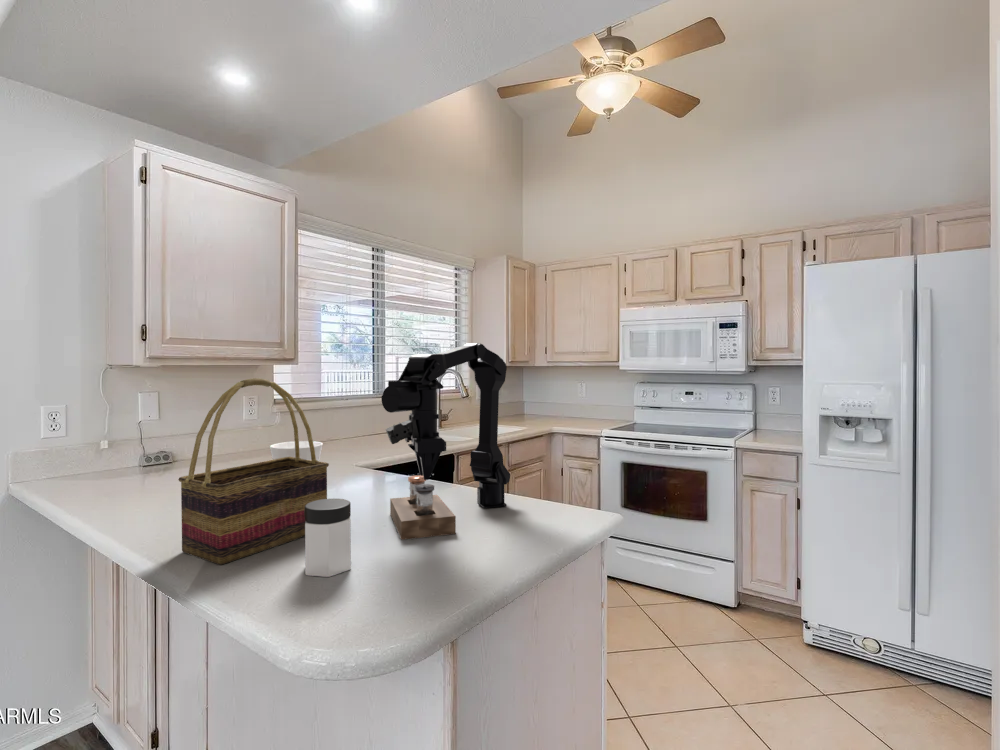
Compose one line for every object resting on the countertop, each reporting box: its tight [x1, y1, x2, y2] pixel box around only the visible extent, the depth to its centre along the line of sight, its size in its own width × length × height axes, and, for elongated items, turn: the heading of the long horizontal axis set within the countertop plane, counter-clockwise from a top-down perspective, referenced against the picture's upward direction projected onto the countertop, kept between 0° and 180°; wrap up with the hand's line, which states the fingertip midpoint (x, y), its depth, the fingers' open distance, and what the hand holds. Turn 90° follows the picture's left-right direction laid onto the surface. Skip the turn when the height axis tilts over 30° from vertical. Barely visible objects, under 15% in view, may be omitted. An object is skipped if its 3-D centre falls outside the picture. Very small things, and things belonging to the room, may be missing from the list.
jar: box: [304, 498, 352, 578], centre depth 94 cm, size 9×8×12 cm
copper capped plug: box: [407, 474, 427, 504], centre depth 125 cm, size 4×4×7 cm
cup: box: [269, 440, 324, 462], centre depth 141 cm, size 14×14×16 cm
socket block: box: [389, 494, 457, 541], centre depth 121 cm, size 12×20×4 cm, turn 19°
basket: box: [177, 377, 330, 566], centre depth 109 cm, size 26×15×35 cm, turn 149°
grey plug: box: [415, 483, 435, 516], centre depth 116 cm, size 4×4×7 cm
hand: (424, 477), depth 116 cm, fingers open, 4 cm apart
